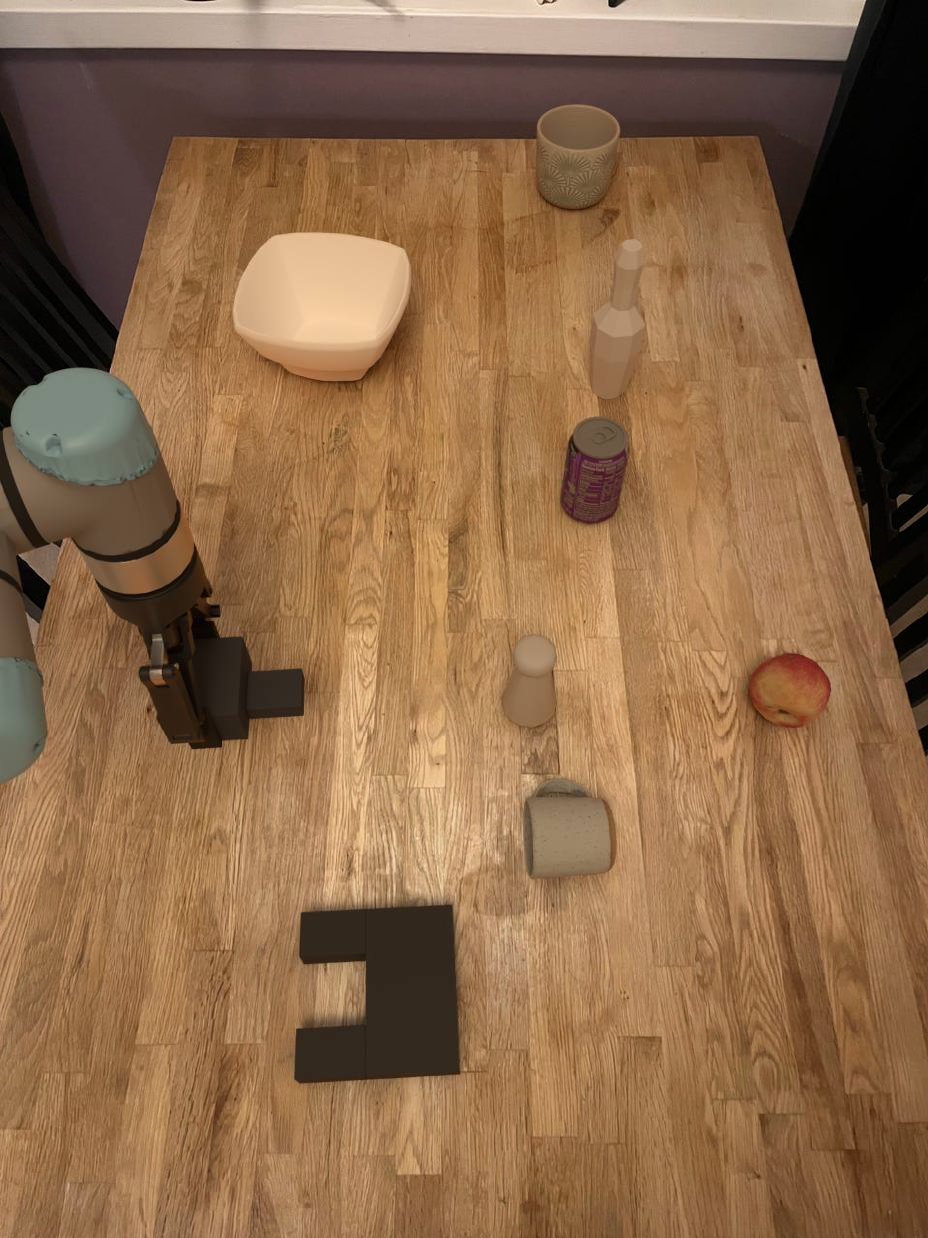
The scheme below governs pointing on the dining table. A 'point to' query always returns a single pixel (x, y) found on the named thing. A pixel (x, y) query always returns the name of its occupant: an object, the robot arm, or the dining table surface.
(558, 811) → the ceramic mug
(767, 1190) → the dining table surface
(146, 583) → the robot arm
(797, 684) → the fruit
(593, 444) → the beverage can
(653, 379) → the dining table surface
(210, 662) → the tab pad
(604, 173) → the planter
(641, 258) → the low poly bottle
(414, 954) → the dark u-shaped block
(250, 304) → the bowl
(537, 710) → the salt shaker
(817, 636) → the dining table surface
